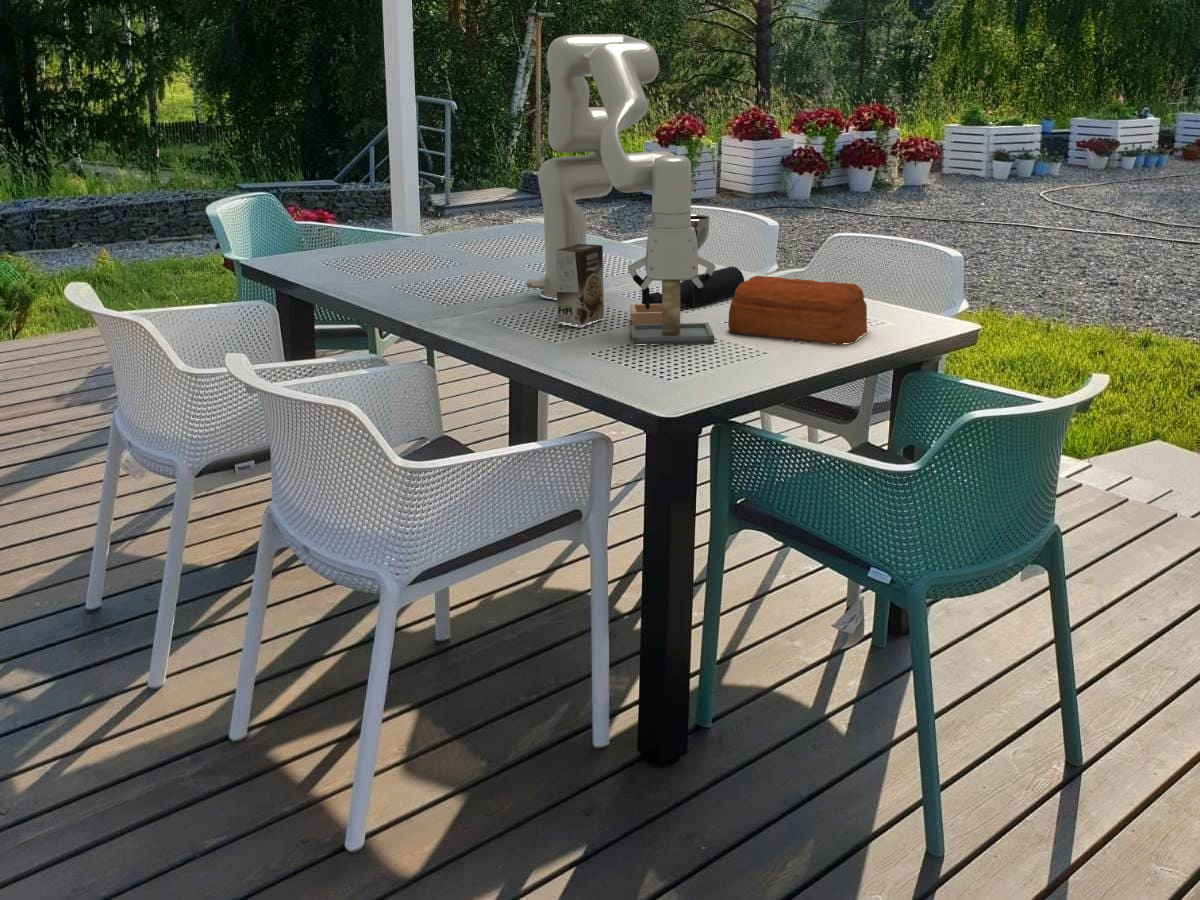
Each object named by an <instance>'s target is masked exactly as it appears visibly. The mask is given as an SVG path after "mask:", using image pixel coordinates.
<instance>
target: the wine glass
mask: <svg viewBox="0 0 1200 900" xmlns="http://www.w3.org/2000/svg"><path fill="white" fill-rule="evenodd" d="M691 227H694V228H695V232H696V239H697V251H698V252H699V250H700V249H701V248H702V246H703V245H704V244H705V243H706V242H707V239H708V236H709V231H710V216H708V215H705V214H691ZM683 281H684V280H681V282H683Z"/></svg>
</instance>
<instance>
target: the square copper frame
mask: <svg viewBox="0 0 1200 900" xmlns="http://www.w3.org/2000/svg"><path fill="white" fill-rule="evenodd" d="M631 320H632V322H631V325H636V324H662V304H650V308H649V309H646V307H645V304H642V303H634V304H633V303H632V304H630V321H631Z"/></svg>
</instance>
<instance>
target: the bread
mask: <svg viewBox="0 0 1200 900" xmlns="http://www.w3.org/2000/svg"><path fill="white" fill-rule="evenodd" d="M867 310H868V309H867V303H866V301H865V296H864V292H863V289H862V288H860V286H858V285H857V284H856V283H849V282H848V283H847V282H840V283H839V282H836V281H816V280H810V279H801V278H800V279H799V278H798V279H797V278H793V279H791V278H786V277H778V276H765V275H764V276H763V275H755V276H752V277H750V278H749V279H748V280H744V282H742V283H740V284H739V286H738V287H737V289H736V290H735V294H734V295H733V297H732V300H731V302H730V307H729V310H728V321H727V322H728V323H727V324H728V325H727V326H728V329H729V330H728V331H729V333H735V334H739V335H748V336H749V335H750V336H757V337H767V338H768V337H769V338H777V339H778V338H779V339H785V340H792V339H793V340H794V341H801V340H802V341H803V342H811V343H821V344H829V343H836V344H835V345H840V344H843V343H851V342H855V341H856V340H857V339H858V338H859V337H860V336H862V335H863V334H865V333H866V332H867V333H868V322H867V321H868V316H867V314H868V312H867ZM855 343H856V342H855Z"/></svg>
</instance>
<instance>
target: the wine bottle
mask: <svg viewBox="0 0 1200 900" xmlns="http://www.w3.org/2000/svg"><path fill="white" fill-rule="evenodd" d="M703 274H704V273H701V274H698V275H697V276H698V278H700V277H701V276H702V275H703ZM744 281H745V277H744V275H743V272H742V271H741V270H740V269H739V268H738V267H735V266H728V267H724V268H720V269H715V270H714V271H713V273H712V275H711V277H710V279H709V280H708V281H707V282H706V283H705V284H704V285H703V287H702V288H701V303H698V306H700V305H702V304H705V303H710V302H714V301H716V300H720V299H723V298H727V297H730V296H734V294H735V290H736V289H737V287H738V286H739V284H740V283H742V282H744ZM693 286H694V282H693V281H692V280H684V281H680V305H685V306H693ZM650 304H662V293H660V292H652V293H651V292H650Z"/></svg>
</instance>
